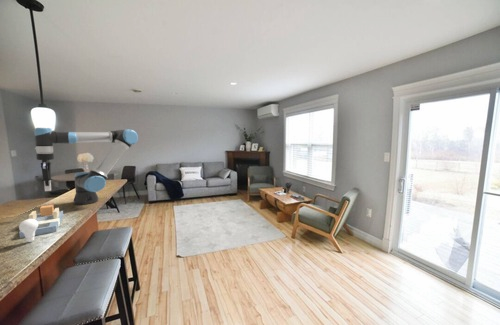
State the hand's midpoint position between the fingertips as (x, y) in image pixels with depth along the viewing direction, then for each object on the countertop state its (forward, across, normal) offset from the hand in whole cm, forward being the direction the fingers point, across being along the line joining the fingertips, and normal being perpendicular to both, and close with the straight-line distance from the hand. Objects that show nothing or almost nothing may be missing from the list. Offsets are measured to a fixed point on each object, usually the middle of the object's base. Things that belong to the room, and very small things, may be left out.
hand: (48, 190), depth 128 cm
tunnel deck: (+16, +20, 0) cm, 25 cm away
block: (+13, +9, 0) cm, 16 cm away
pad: (+16, +23, 0) cm, 28 cm away
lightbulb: (+16, +42, -1) cm, 45 cm away
